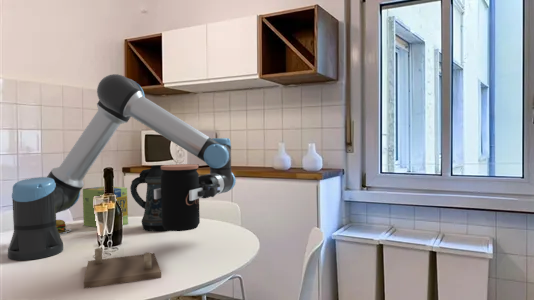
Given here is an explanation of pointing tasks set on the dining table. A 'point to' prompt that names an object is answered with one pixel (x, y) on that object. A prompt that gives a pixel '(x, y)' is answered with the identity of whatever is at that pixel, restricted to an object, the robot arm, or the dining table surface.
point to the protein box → (97, 191)
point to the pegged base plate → (120, 269)
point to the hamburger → (61, 226)
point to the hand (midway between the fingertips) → (172, 195)
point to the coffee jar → (179, 197)
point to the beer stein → (150, 198)
